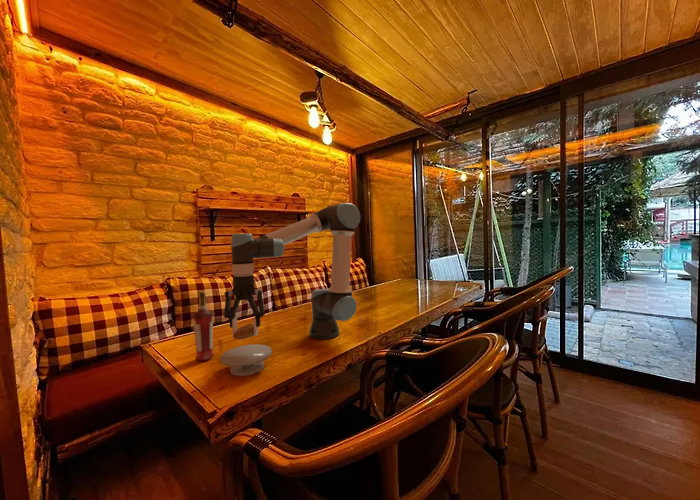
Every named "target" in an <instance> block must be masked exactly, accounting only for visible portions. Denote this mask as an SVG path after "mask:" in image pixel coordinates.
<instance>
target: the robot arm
mask: <svg viewBox="0 0 700 500" xmlns="http://www.w3.org/2000/svg"><path fill="white" fill-rule="evenodd" d="M360 221H361V213H360V211H359V209H358V207H357V206H356V205H355V204H353V203H350V202H342V203H339V204H338V203H337V204H333V205H328V206H326V207H324V208H322V209H320V210H318V211H316V212H314V213H311V214H310V215H309V216H308V217H307V218H305V219H302V220H299V221H297V222H293V223H291V224H289V225H286V226H284V227H281V228H279V229H277V230H274V231H272V232H270V233H267V234H264V235H262V236H260V237H259V236H258V237H257V238H253V237H254V236H253V234H252V233H234V234H232V235H231V238H230V239H231V241H230V247H231V248H230V249H231V250H230V251H231V263H232V264H231V268H232V269H231V273H232V275H233V276H232V289H230V290H226V291H224V297H225V301H224V302H225V304H224V313H223V317H224V319H228V320H229V327H230V328H231V329H232V336H233V335H234V333H235V332H236V331H237V330H238V317H236V314H237V311H238V308H239V305H240V302H241V301H247V303H249V306H250V308H251V311H252V314H253V315H254V318H253V325H254V335H253V337H257V336H258V335H259V328H260V327H261V318H262V317H264V316H265V315H266V310H265V304H264V298H263V294H264V289H257V288H256V287H255V276H254V271H255V270H254V265H255V264H254V259H267V258H279V257H282V256H283V255H284V252H285V246H286V245H288V244H291V243H294V242H295V241H298V240H300V239H302V238H304V237H306V236H309V235H311V234H314V233H321V232H323V231H329V232H330V234H331V235H332V252H331V253H332V254H331V255H332V256H331V274H330V275H331V277H330V279H331V280H330V287H329V288H322V289H321V288H320V289H314V290H312V292H311V296H310V297H311V298H310V299H311V313H312V314H311V316H312V320H311V324H310V326H309V327H310V328H309V333H308V334H309V337H310V338H311V339H316V340H328V339H329V340H330V339H333V338H336V337H338V336H339V335H340V328H339V325H338V322H337V321H341V322H347V321H349V320H350V319H352V317H353V316H354V315H355V314H356V311H357V306H358V305H357V301H356V299H355V298H354V297H353V290H352V289H351V288H350V281H351V279H350V276H351V275H350V274H351V255H352V254H351V251H352V237H353V235H354V234H355V233H356V228H357V227H358V225H359V224H360ZM254 294H255V295H256V296H257V297H256V299H257V304H256V302H255V298H254ZM232 296H234V297H235V298H234V303H233V305H232ZM231 306H232V307H231ZM230 328H229V329H230Z"/></svg>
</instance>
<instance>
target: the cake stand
mask: <svg viewBox="0 0 700 500" xmlns="http://www.w3.org/2000/svg"><path fill="white" fill-rule="evenodd" d="M271 355H272V348H271V347H270V346H269V345H265V344H261V343H259V344H258V343H255V344H246V345H245V344H244V345H240V346H236V347H233V348H231V349H228V350H226V351H225V352H224V353H222V354H221V355H220V362H221V364H223V365H225V366H229V367H230V369H229V370H230V374H231V375H233V376H234V377H246V376H253V375H255V374H257V373H259V372H261V371H262V370H263V369H264V368H265V364H264V363H265V362H264V361H265V360H267V359H268V358H269V357H270V356H271Z"/></svg>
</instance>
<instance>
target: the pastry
mask: <svg viewBox="0 0 700 500" xmlns="http://www.w3.org/2000/svg"><path fill="white" fill-rule="evenodd" d="M251 337H254V323H247V324H244V325H243V326H241V327H239V328H238V327H237V331H236V332H235V333H234V335H233V334H232V338H233V340H246V339H248V338H251Z"/></svg>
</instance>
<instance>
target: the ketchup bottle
mask: <svg viewBox="0 0 700 500" xmlns="http://www.w3.org/2000/svg"><path fill="white" fill-rule="evenodd" d="M197 293H198V294H197V295H198V311H196V312H194V313H193V314H192V320H193V331H194V339H195V350H196V356H195V359H196V360H198V361H199V362H207V361H209V360H211V359H212V358H213V357H214V356H215V353H214V348H213V343H214V341H213V339H214V337H213V336H214V335H213V330H214V329H213V328H214V326H213V325H214V324H213V323H214V319H213V318H214V317H213V316H214V314H213V311H211V310H209V309H207V305H206V304H207V302H206V291H198V292H197Z"/></svg>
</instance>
